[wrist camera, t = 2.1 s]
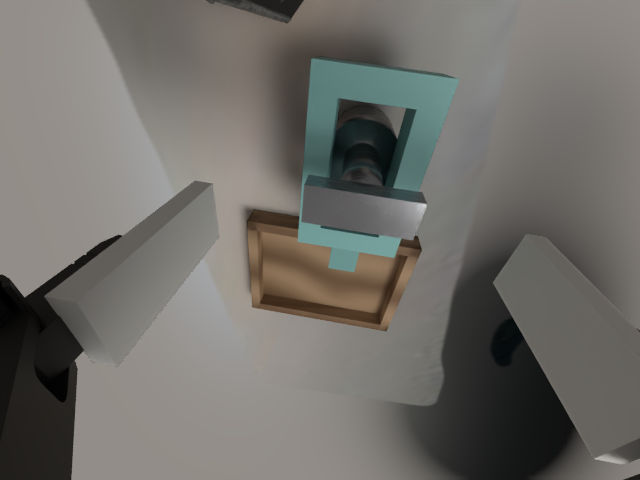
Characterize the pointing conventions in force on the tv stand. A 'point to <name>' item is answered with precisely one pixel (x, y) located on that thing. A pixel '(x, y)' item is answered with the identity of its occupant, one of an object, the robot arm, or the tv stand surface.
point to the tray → (323, 276)
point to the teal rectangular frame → (411, 148)
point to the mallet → (362, 181)
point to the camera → (266, 7)
